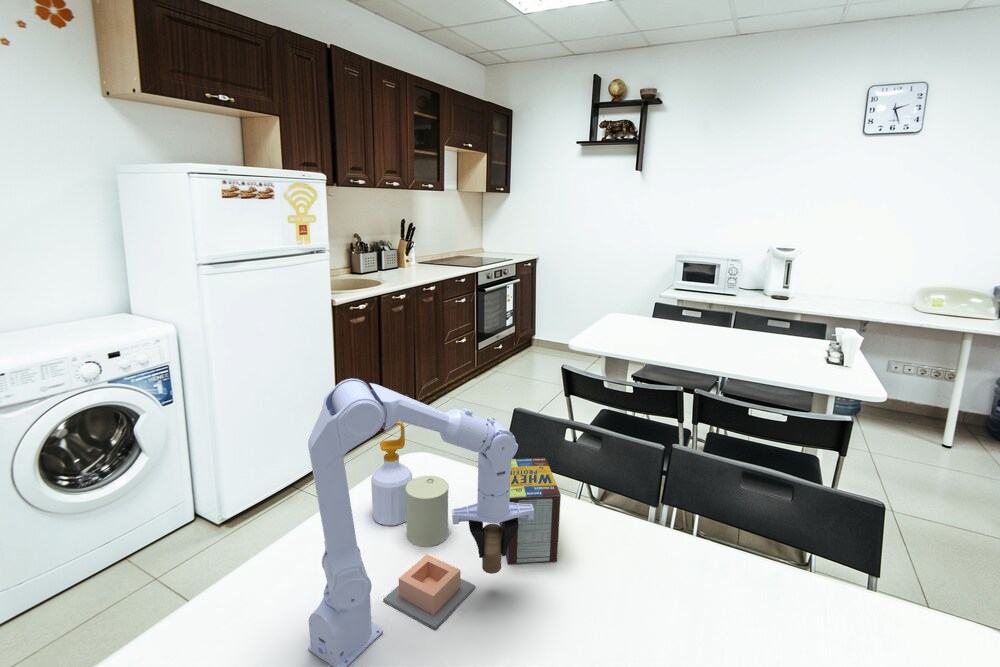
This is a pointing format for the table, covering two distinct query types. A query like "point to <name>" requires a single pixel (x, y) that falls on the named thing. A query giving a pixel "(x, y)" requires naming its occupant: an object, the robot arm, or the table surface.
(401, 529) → the table surface
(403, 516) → the soap bottle
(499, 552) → the walnut peg
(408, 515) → the can
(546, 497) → the protein box
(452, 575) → the terracotta holder
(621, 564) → the table surface
